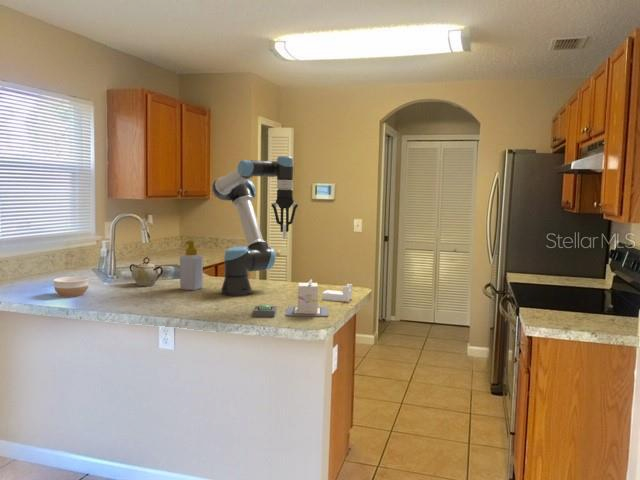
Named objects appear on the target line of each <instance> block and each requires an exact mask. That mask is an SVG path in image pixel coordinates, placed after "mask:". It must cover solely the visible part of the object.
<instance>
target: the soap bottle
mask: <svg viewBox="0 0 640 480" xmlns="http://www.w3.org/2000/svg"><path fill="white" fill-rule="evenodd" d="M185 244H188V248H186V249H185V254H183V255H181V256H180V258H179V277H180V278H179V279H180V280H179V284H180V285H179V288H180V290H184V291H197V290H200V289H203V287H204V286H203V285H204V283H203V275H204V274H203V266H204V265H203V255H200V254H198V251H197V249H196V248H195V246H194V245H195V241H194V240H188V241H185Z"/></svg>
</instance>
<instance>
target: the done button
mask: <svg viewBox="0 0 640 480" xmlns="http://www.w3.org/2000/svg"><path fill="white" fill-rule="evenodd" d="M258 306H259V310H271V306H272V305H271V304H267V303H266V304H265V303H264V304H259V305H258Z"/></svg>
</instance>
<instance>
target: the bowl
mask: <svg viewBox="0 0 640 480" xmlns="http://www.w3.org/2000/svg"><path fill="white" fill-rule="evenodd" d="M89 280H90V278H89V276H82V275H81V276H79V275H78V276H77V275H76V276H74V275H73V276H63V277H62V276H61V277H56V278H55V279H53V280H52V281H53V283H54V284H53V288H54V290H55V293H57V295H59V297H61V298H77V297H80V296H84V295H85V293H86V292H87V290H88V288H89Z"/></svg>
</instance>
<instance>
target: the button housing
mask: <svg viewBox="0 0 640 480" xmlns="http://www.w3.org/2000/svg"><path fill="white" fill-rule="evenodd" d="M276 314H277V306H276V305H271V310H259V305H255V307H254V308H253V310H252V317H253V318H254V317H255V318H257V317H258V318H259V317H260V318H275V317H276Z"/></svg>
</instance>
